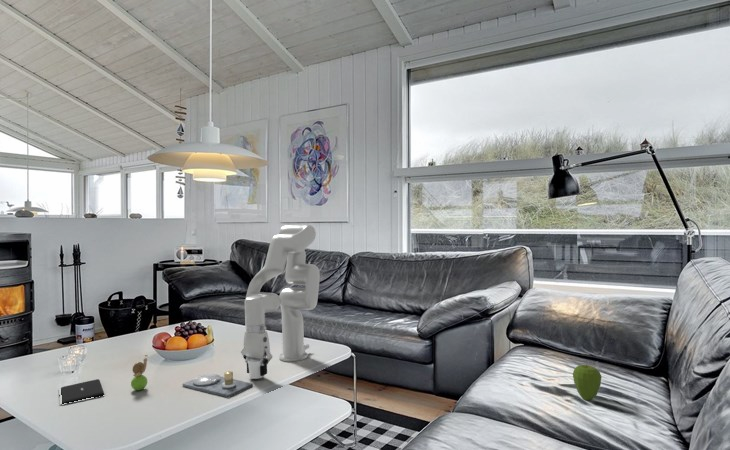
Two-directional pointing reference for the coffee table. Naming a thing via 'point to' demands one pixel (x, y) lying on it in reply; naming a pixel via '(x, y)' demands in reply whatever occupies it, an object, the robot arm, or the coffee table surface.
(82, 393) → the laptop
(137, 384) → the snail figurine
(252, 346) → the robot arm
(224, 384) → the flange plate
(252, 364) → the shot glass
